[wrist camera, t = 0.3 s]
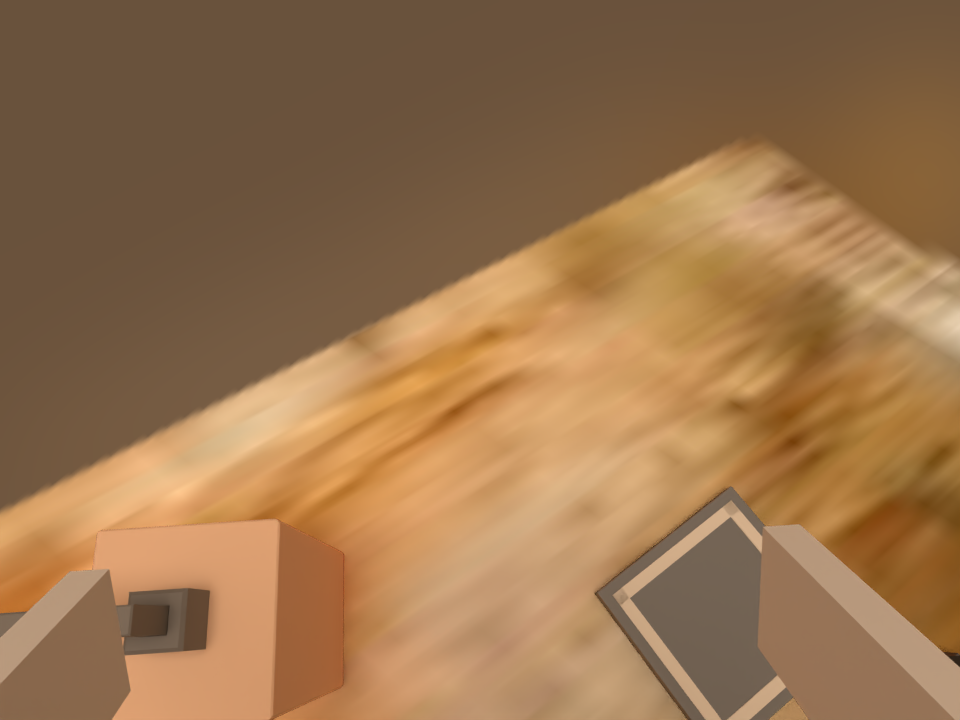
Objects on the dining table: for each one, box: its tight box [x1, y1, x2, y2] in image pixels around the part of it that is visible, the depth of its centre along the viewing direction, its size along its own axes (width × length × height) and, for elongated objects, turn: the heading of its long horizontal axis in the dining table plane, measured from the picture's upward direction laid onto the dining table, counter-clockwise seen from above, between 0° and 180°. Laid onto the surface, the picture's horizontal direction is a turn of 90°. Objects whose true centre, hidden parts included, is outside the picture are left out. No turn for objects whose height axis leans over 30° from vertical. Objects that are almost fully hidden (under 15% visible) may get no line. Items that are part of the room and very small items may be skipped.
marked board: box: [595, 487, 793, 720], centre depth 45 cm, size 12×12×1 cm
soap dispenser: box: [0, 519, 344, 720], centre depth 36 cm, size 13×9×22 cm
